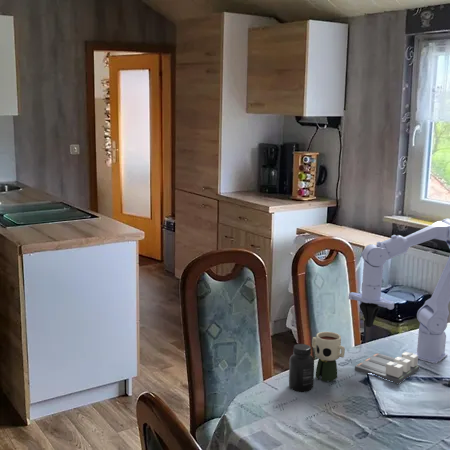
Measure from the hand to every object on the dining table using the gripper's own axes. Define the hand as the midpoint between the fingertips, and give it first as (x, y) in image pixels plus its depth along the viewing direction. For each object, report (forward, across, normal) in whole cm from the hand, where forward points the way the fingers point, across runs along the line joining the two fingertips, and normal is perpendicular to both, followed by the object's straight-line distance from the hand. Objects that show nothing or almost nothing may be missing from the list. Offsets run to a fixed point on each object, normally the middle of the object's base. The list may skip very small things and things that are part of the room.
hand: (369, 326), depth 191 cm
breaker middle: (+9, +14, -4) cm, 17 cm away
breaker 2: (+9, +13, +1) cm, 16 cm away
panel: (+10, +9, -4) cm, 14 cm away
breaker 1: (+9, +14, -9) cm, 18 cm away
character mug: (+11, -1, -22) cm, 24 cm away
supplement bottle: (+11, -3, -32) cm, 34 cm away
